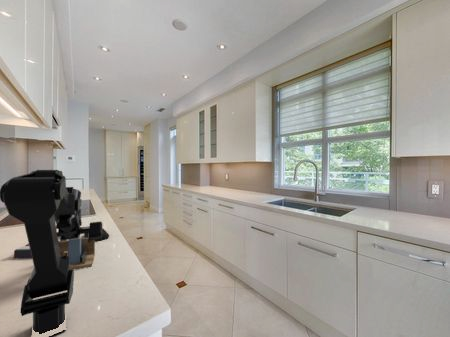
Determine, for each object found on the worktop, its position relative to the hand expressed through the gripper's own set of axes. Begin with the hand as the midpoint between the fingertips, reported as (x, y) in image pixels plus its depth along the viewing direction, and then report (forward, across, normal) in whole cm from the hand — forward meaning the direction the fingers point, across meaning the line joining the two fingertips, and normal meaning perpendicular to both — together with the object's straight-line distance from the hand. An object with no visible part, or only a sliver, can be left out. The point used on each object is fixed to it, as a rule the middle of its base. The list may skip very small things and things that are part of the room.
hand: (74, 244), depth 75 cm
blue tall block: (+7, 0, +4) cm, 8 cm away
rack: (+8, +1, +4) cm, 9 cm away
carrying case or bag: (+29, -4, -16) cm, 33 cm away
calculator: (+24, +15, -10) cm, 30 cm away
